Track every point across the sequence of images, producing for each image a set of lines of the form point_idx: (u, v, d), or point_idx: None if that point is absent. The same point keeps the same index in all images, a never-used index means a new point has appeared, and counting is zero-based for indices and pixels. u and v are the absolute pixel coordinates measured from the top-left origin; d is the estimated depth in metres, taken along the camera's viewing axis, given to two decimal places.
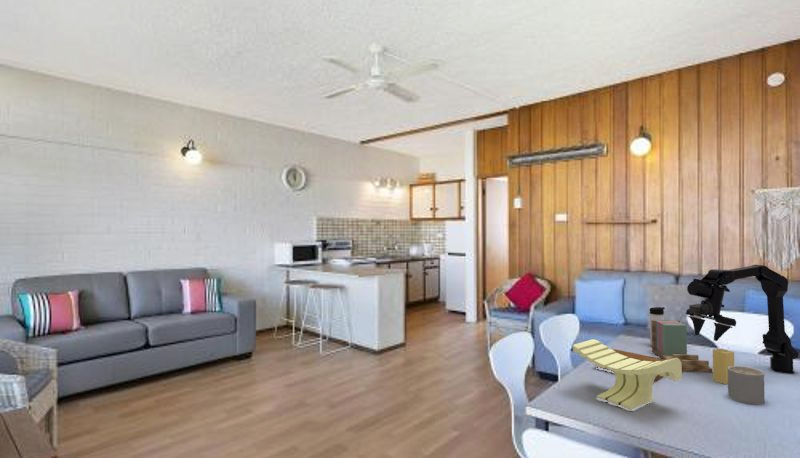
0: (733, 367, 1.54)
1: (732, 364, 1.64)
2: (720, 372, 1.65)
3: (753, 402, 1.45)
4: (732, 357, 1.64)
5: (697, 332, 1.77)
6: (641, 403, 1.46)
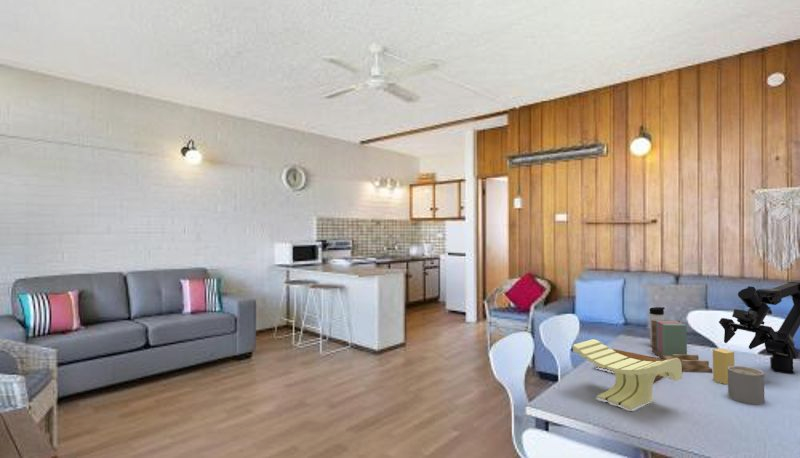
0: (733, 367, 1.54)
1: (732, 364, 1.64)
2: (720, 372, 1.65)
3: (753, 402, 1.45)
4: (732, 357, 1.64)
5: (726, 340, 1.73)
6: (641, 403, 1.46)
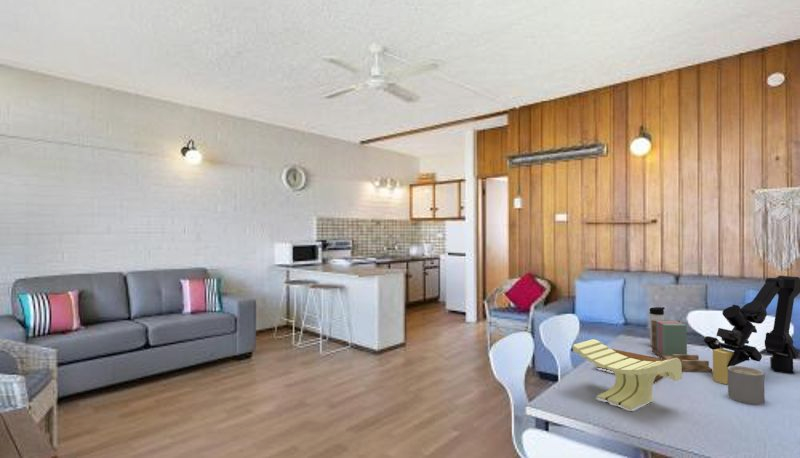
0: (733, 367, 1.54)
1: None
2: (720, 372, 1.65)
3: (753, 402, 1.45)
4: None
5: None
6: (641, 403, 1.46)
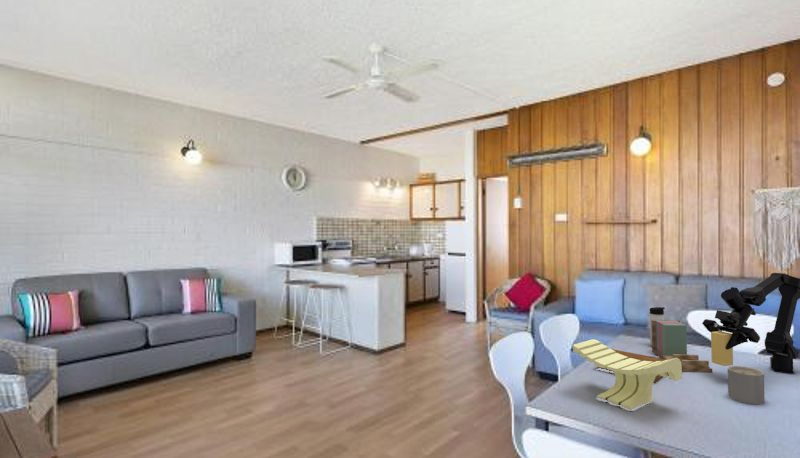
0: (733, 367, 1.54)
1: None
2: (718, 354, 1.65)
3: (753, 402, 1.45)
4: None
5: None
6: (641, 403, 1.46)
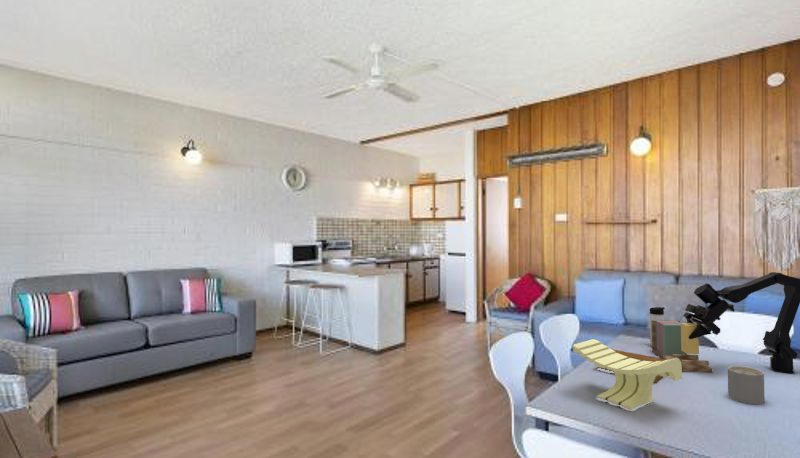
0: (733, 367, 1.54)
1: None
2: (684, 343, 1.82)
3: (753, 402, 1.45)
4: None
5: None
6: (641, 403, 1.46)
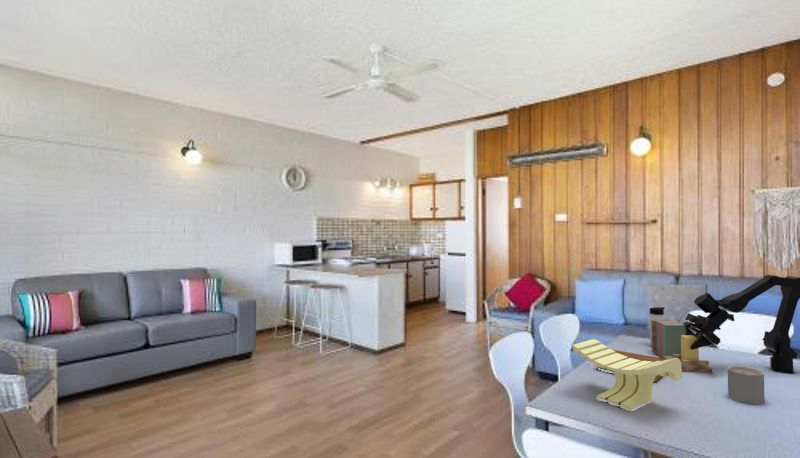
0: (733, 367, 1.54)
1: (696, 349, 1.79)
2: (684, 355, 1.82)
3: (753, 402, 1.45)
4: None
5: None
6: (641, 403, 1.46)
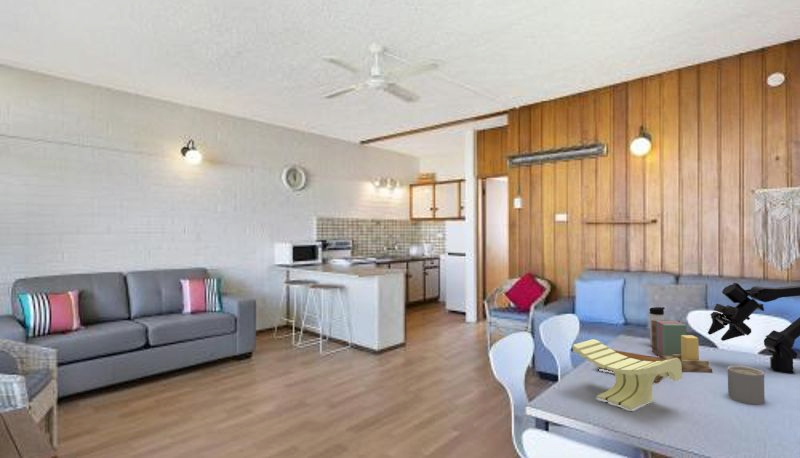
0: (733, 367, 1.54)
1: (696, 349, 1.79)
2: (684, 355, 1.82)
3: (753, 402, 1.45)
4: (696, 342, 1.79)
5: (710, 332, 1.85)
6: (641, 403, 1.46)
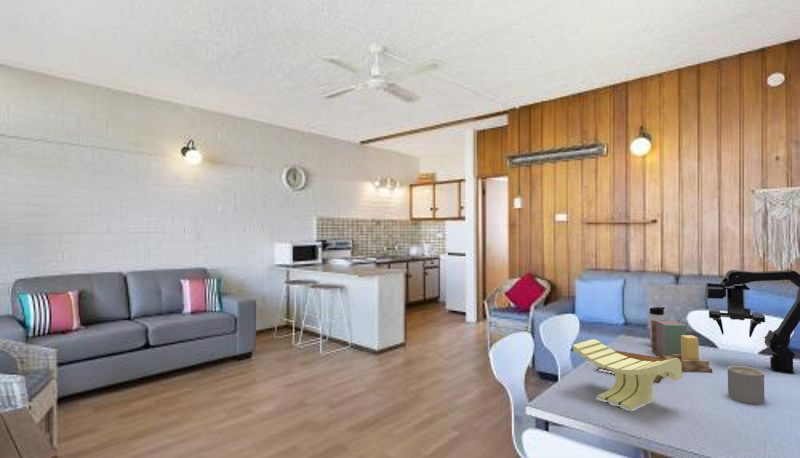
0: (733, 367, 1.54)
1: (696, 349, 1.79)
2: (684, 355, 1.82)
3: (753, 402, 1.45)
4: (696, 342, 1.79)
5: (723, 332, 1.86)
6: (641, 403, 1.46)
